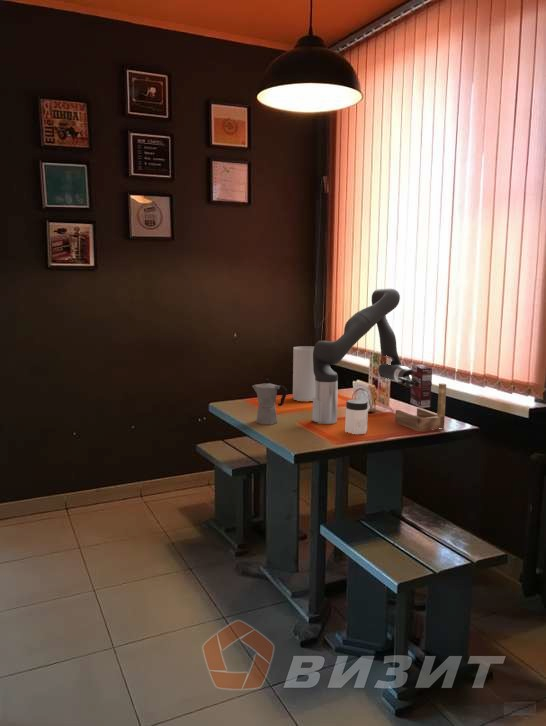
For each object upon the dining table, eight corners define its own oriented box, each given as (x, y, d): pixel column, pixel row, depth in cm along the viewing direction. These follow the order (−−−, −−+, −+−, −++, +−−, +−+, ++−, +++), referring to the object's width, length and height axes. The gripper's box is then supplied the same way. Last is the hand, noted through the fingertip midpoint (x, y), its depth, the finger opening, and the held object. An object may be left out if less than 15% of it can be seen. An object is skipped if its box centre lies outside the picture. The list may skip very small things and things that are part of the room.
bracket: (418, 431, 233) (420, 386, 230) (395, 422, 248) (397, 379, 245) (443, 429, 238) (446, 384, 235) (419, 419, 252) (421, 377, 249)
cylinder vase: (290, 397, 293) (291, 346, 289) (315, 396, 295) (316, 346, 291) (295, 403, 281) (296, 350, 277) (321, 402, 283) (323, 349, 279)
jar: (348, 435, 228) (349, 404, 226) (341, 429, 236) (342, 399, 234) (371, 433, 230) (372, 403, 228) (363, 428, 238) (364, 398, 236)
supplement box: (409, 403, 245) (411, 364, 242) (420, 402, 246) (422, 364, 244) (419, 408, 237) (421, 368, 234) (430, 407, 238) (432, 367, 235)
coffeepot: (247, 423, 245) (247, 379, 242) (256, 417, 253) (256, 375, 250) (282, 427, 239) (282, 382, 236) (291, 421, 247) (291, 378, 244)
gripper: (390, 368, 252) (407, 375, 235) (422, 367, 255) (441, 374, 238) (389, 385, 253) (407, 394, 237) (421, 384, 256) (440, 393, 240)
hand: (424, 384), depth 238 cm, fingers closed on supplement box, 5 cm apart
